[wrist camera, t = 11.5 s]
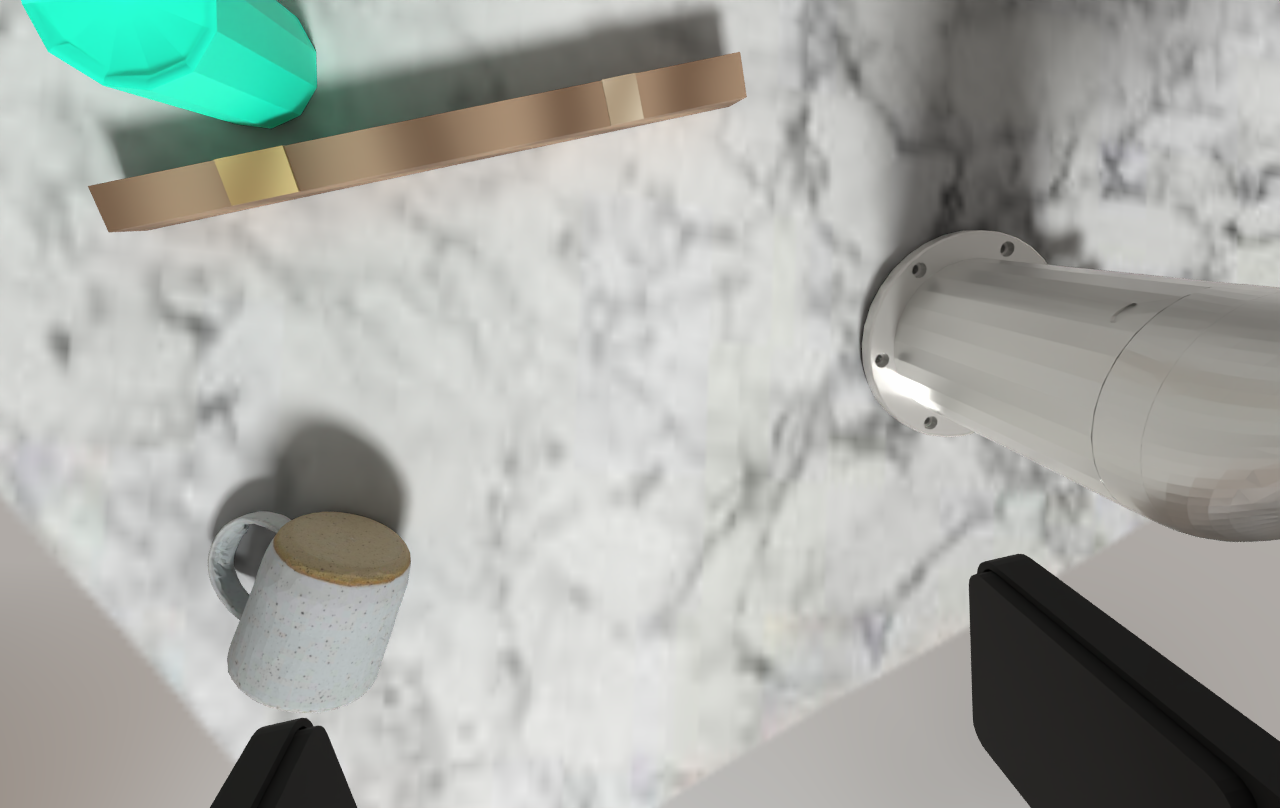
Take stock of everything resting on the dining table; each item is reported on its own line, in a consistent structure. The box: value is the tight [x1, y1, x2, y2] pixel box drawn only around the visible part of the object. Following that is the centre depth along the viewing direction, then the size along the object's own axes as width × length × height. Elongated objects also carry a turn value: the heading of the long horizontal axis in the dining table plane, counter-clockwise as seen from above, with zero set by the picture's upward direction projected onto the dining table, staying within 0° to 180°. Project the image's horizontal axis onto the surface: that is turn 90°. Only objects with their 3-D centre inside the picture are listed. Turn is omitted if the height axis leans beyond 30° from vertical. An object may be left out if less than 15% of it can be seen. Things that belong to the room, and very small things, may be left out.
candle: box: [21, 0, 317, 129], centre depth 25 cm, size 6×6×12 cm
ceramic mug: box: [208, 511, 411, 713], centre depth 35 cm, size 11×8×8 cm
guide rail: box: [88, 52, 747, 232], centre depth 31 cm, size 30×2×3 cm, turn 102°
